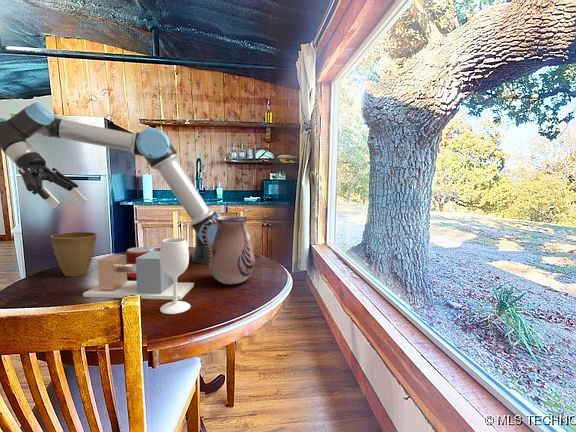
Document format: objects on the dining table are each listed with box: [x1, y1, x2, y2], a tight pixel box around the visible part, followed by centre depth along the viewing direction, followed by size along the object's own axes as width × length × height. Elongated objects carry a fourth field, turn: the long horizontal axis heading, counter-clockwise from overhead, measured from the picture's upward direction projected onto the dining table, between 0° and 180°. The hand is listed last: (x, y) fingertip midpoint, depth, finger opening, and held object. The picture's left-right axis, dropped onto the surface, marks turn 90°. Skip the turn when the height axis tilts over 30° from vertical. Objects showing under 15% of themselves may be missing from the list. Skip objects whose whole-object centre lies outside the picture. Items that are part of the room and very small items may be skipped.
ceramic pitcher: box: [202, 215, 256, 285], centre depth 114 cm, size 18×21×25 cm
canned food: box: [126, 246, 150, 280], centre depth 119 cm, size 8×8×11 cm
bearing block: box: [82, 250, 195, 301], centre depth 103 cm, size 32×13×13 cm, turn 89°
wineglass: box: [159, 237, 191, 315], centre depth 89 cm, size 9×9×21 cm
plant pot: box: [50, 231, 97, 277], centre depth 120 cm, size 15×15×16 cm
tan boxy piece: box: [97, 253, 136, 290], centre depth 103 cm, size 20×8×10 cm, turn 89°
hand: (71, 204), depth 105 cm, fingers open, 13 cm apart
